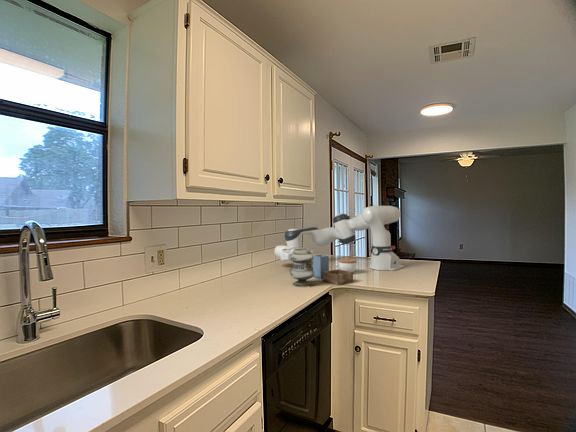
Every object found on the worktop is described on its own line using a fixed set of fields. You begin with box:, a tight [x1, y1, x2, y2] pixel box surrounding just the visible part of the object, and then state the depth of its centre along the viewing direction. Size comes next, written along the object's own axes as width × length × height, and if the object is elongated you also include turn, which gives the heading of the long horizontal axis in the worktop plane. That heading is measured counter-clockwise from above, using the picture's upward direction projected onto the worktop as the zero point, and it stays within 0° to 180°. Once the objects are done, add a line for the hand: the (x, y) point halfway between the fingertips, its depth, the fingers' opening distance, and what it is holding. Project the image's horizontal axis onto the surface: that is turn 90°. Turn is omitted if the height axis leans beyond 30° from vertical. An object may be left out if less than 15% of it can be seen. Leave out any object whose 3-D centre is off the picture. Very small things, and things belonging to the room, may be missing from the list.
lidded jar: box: [337, 256, 358, 273], centre depth 192 cm, size 11×11×9 cm
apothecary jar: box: [290, 247, 315, 288], centre depth 166 cm, size 12×12×18 cm
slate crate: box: [312, 254, 330, 280], centre depth 181 cm, size 6×6×12 cm
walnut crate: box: [322, 268, 354, 286], centre depth 171 cm, size 11×11×5 cm
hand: (306, 256), depth 191 cm, fingers open, 8 cm apart
